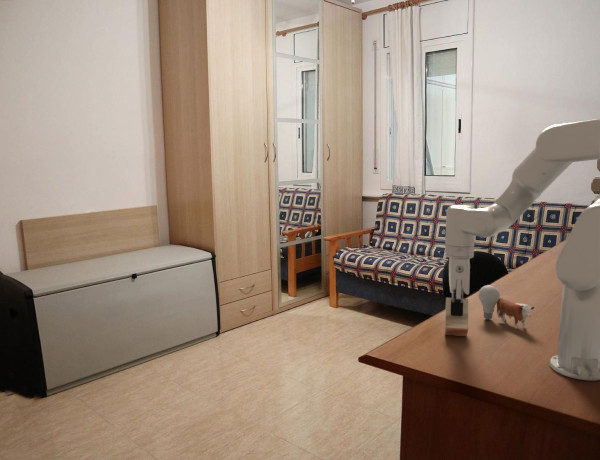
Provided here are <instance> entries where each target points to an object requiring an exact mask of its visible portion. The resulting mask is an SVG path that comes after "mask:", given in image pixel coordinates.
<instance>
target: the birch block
mask: <svg viewBox="0 0 600 460" xmlns="http://www.w3.org/2000/svg"><path fill="white" fill-rule="evenodd" d="M451 300H452V297H445V313H444V315H445V316H444V317H445V320H444V321H445V322H444V323H445V325H444V335H446V336H447V335H449V336H459V337H461V336H462V337H467V336H468V331H469V298H463V316H452V315H451Z"/></svg>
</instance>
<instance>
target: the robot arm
mask: <svg viewBox="0 0 600 460" xmlns="http://www.w3.org/2000/svg"><path fill="white" fill-rule="evenodd" d="M594 160H596V161H597V160H600V118H595V119H589V120H588V119H587V120H582V121H575V122H568V123H567V122H566V123H561V124H559V123H557V124H553V125H550V126H548V127H546V128H545V129H543V130H542V131H541V132H540V133H539V135H538V136H537V138H536V141H535V148H533V149H532V150H531V151H530V153H528V155H527V156H526V157H525V158H524V159H523V160H522V161H521V162H520V163H519V165H517V166H516V168H515V169H513V172H512V176H511V182H510V183H509V185H508V187H507V188H506V189H505V190H504V191H503V193H502V194H500V196H499V197H498V198H497V199H496V200H495V201H494V202H493V203H492V204H491V205H489V206H484V207H482V208H475V207H474V206H473V205H472V206H471V205H468V204H453V205H450V206H448V207H447V209H446V214H445V216H446V217H445V238H444V239H445V242H444V243H445V244H444V246H445V247H444V256H445V257H446V258H448V283H449V284H448V285H449V292H450V293H451V298H452V300H451V315H452V316H463V299H464V294H466V295H469V294H470V276H471V275H470V274H471V271H470V269H471V263H470V259H472V258H474V256H475V238H476V237H480V238H492V237H493V236H495V235H498V234H500V233H502V232H504V231H506V230H507V229H509V228H510V227H512V225H513V224H514V223H515V222H516V221H518V220H519V218H520V217H521V216H522V215H523V214H524V213H526V211H527V210H528V209H530V207H531V206H533V204H534V202H535V201H536V200H537V199H538V198H539V197H540V196H541V195H542V194H543V193H544V191H546V189H548V187H550V185H552V183H553V182H554V181H556V180H557V179H558V178H559V176H561V175H562V174H563V173H564V172H565V171H566V169H568V168H569V167H570V166H571V165H572V163H577V162H586V161H594ZM475 236H476V237H475ZM555 274H556V276H557V279H558V280H559V282H561V285H563V286H562V293H561V305H560V316H559V317H560V318H559V320H560V321H559V329H558V344H557V353H556V355H554V356H551V358H550V359H549V366H550V368H552V370H554V371H555V372H557V373H559V374H560V375H562V376H565V377H568V378H572V379H576V380H581V381H600V193H599V194H598V195H597V198H596V199H595V201H594V202H593V203H592V204H590V205H588V206H587V207H586V208H585V209H584V210H583V211H582V212H581V213H580V214H579V216H578V218H577V219H576V221H575V223H574V224H573V227H572V229H571V230H570V232H569V235H568V237H567V239H566V241H565V242H564V244H563V247H562V249H561V251H560V253H559V255H558V257H557V259H556V262H555Z"/></svg>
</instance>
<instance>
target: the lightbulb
mask: <svg viewBox="0 0 600 460" xmlns="http://www.w3.org/2000/svg"><path fill="white" fill-rule="evenodd" d="M500 296H501V294H500V291H499V289H498V288H497V287H496V286H493V285H491V284H487V285H484V286H482V287H480V289H479V291H478V299H479V301H480V302H481V305H482V311H483V318H484V319H485V320H486V321H490V320H491V319H493V317H494V315H493V314H494V311H495V307H496V306H497V302H498V300H499V299H500V298H501V297H500Z"/></svg>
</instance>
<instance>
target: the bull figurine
mask: <svg viewBox="0 0 600 460" xmlns="http://www.w3.org/2000/svg"><path fill="white" fill-rule="evenodd" d="M534 309H535V306H531V305H529V304H525V303H517V302H513V301H510V300H508V299H504V298H501V297H500V298H499V300H498V302H497V303H496V314H497V317H498V319H500V323H501V324H502V325H506V324H507V323H506V321H507V318H506V316H507V317H509V319H512V318H514V325H513V328H514V329H515V330H517V329H518V323H519V322H521V323H522V328H523V329H524V330H527V329H528V327H527V326H526V320H527V318H530V317H532V316H531V310H534Z"/></svg>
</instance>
